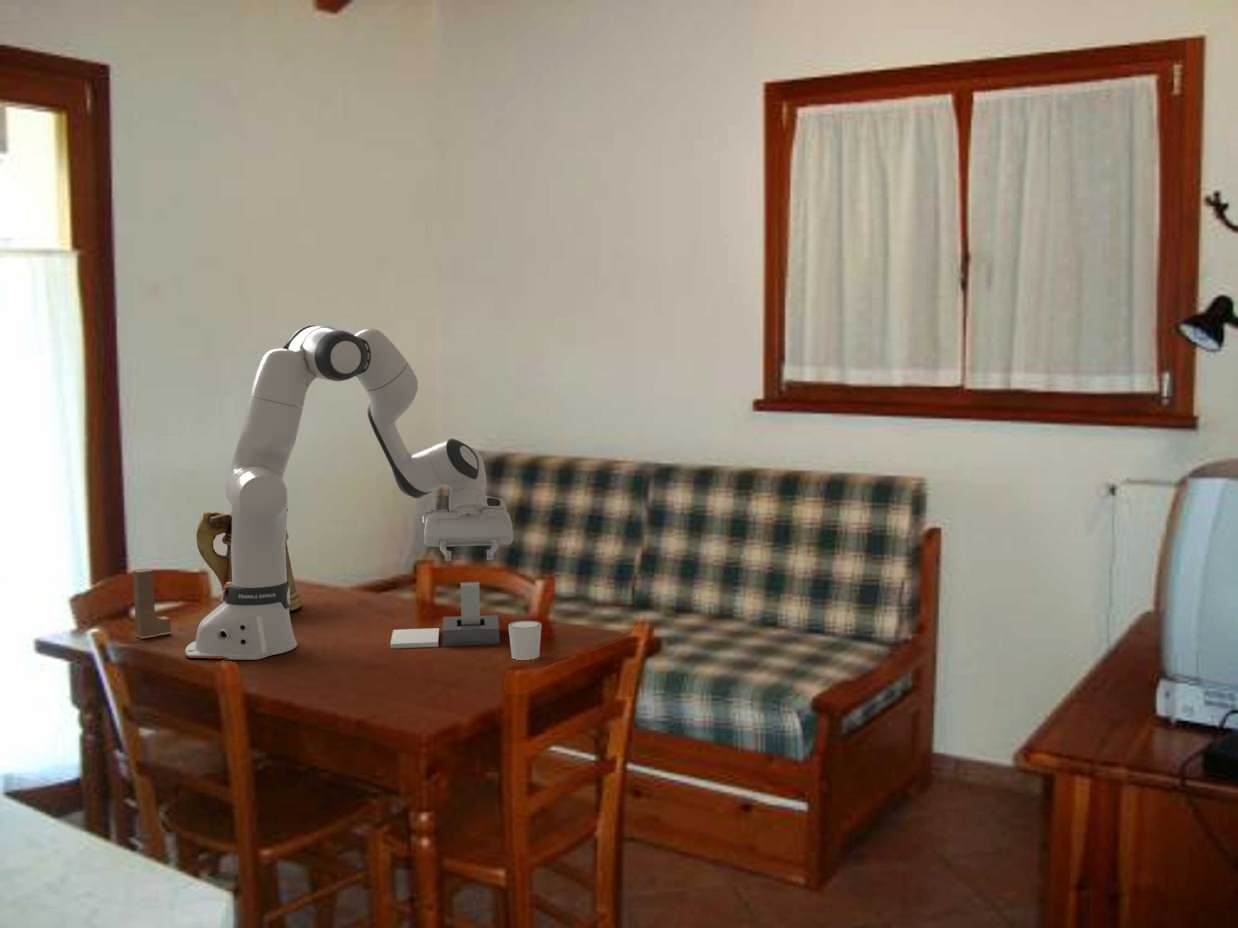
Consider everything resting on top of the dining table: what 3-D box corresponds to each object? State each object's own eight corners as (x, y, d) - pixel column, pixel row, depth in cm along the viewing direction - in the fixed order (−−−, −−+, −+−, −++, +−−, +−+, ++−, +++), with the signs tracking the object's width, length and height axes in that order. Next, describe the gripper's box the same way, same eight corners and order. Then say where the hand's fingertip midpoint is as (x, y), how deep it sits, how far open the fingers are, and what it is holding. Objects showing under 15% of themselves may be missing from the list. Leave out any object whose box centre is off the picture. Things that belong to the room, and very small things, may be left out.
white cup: (548, 655, 254) (548, 622, 253) (528, 663, 248) (528, 629, 248) (522, 651, 258) (521, 618, 257) (501, 658, 252) (501, 625, 251)
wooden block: (141, 639, 269) (137, 572, 267) (135, 637, 271) (132, 570, 269) (171, 634, 273) (167, 568, 271) (165, 631, 275) (162, 566, 274)
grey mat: (390, 648, 260) (390, 643, 260) (393, 634, 272) (393, 629, 272) (438, 646, 262) (438, 641, 262) (439, 632, 273) (439, 628, 273)
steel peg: (461, 640, 266) (460, 586, 265) (461, 636, 270) (460, 582, 269) (480, 640, 267) (479, 585, 265) (480, 635, 271) (479, 582, 269)
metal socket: (442, 646, 262) (442, 630, 261) (443, 632, 274) (443, 616, 273) (499, 644, 263) (499, 628, 263) (497, 630, 275) (497, 615, 275)
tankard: (311, 612, 293) (307, 509, 290) (210, 625, 281) (205, 517, 278) (288, 598, 308) (284, 499, 305) (191, 610, 296) (186, 507, 293)
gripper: (422, 502, 282) (421, 552, 273) (511, 500, 284) (514, 549, 276) (423, 518, 286) (422, 568, 278) (511, 516, 289) (513, 565, 281)
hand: (469, 559), depth 277 cm, fingers open, 8 cm apart
